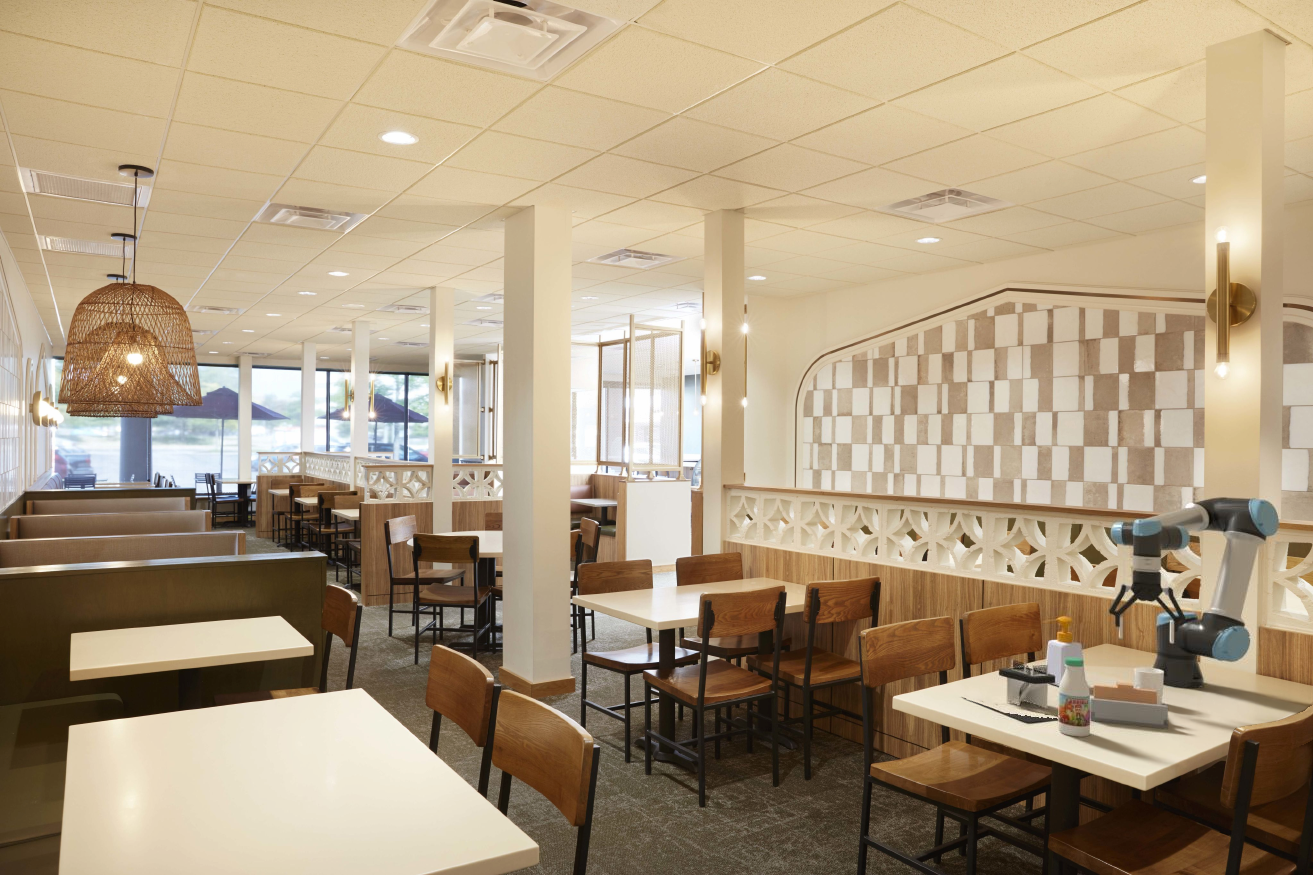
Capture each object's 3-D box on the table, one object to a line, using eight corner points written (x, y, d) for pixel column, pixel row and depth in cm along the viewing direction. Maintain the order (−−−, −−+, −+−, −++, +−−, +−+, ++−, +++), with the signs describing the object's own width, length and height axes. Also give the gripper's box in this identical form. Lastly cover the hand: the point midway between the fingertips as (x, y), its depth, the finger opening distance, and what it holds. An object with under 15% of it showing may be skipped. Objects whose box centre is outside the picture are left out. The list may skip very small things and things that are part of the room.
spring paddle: (1155, 714, 249) (1155, 685, 249) (1157, 716, 246) (1157, 687, 246) (1093, 707, 255) (1093, 679, 255) (1094, 710, 252) (1094, 681, 252)
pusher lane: (1155, 710, 258) (1155, 689, 258) (1167, 728, 240) (1167, 706, 240) (1084, 702, 264) (1084, 682, 265) (1091, 720, 247) (1091, 699, 247)
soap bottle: (1031, 682, 287) (1031, 615, 288) (1065, 679, 292) (1065, 613, 292) (1053, 690, 278) (1053, 620, 279) (1087, 687, 283) (1087, 618, 283)
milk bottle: (1052, 728, 239) (1052, 655, 239) (1079, 727, 240) (1079, 655, 240) (1068, 737, 231) (1068, 662, 232) (1096, 737, 232) (1096, 661, 232)
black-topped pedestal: (959, 697, 269) (960, 653, 270) (1026, 692, 278) (1027, 650, 279) (1027, 722, 243) (1027, 674, 244) (1098, 716, 252) (1099, 670, 253)
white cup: (1156, 699, 269) (1156, 667, 269) (1168, 707, 261) (1168, 673, 261) (1129, 698, 270) (1129, 666, 270) (1141, 706, 262) (1141, 672, 262)
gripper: (1101, 568, 267) (1100, 637, 267) (1196, 574, 257) (1195, 646, 256) (1100, 565, 274) (1099, 633, 273) (1192, 571, 264) (1191, 642, 263)
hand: (1146, 640), depth 265 cm, fingers open, 13 cm apart
